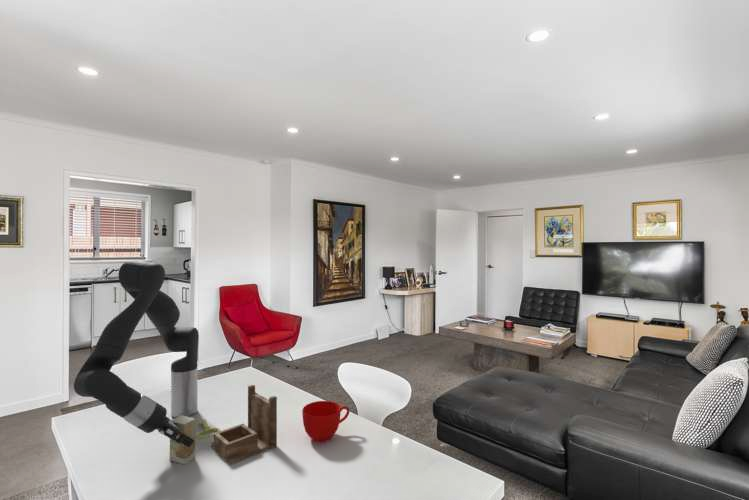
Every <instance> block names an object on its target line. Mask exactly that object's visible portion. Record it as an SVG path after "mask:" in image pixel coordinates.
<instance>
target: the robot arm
mask: <svg viewBox="0 0 749 500" xmlns="http://www.w3.org/2000/svg"><path fill="white" fill-rule="evenodd" d="M165 277H166V269H165V268H164V266H163V265H162V264H159V263H157V262H152V261H151V262H149V261H142V260H128V261H125V262H123V264H121V266H120V267H119V269H118V281H119V284H120V285H121V288H123V289H124V290H125V291H126V292H127V294H129V295H130V297H132V299H133V301H132V302H131V303H130V304H129V305H128V306H127V307H125V308H124V309H123V310H122V311H120V313H118V314H117V315H116V316H114V318H112V319H111V320H110V321H109V322H108V323H107V325H106V326H105V327H104V329H103V331H102V332H101V334H100V336H99V338H98V340H97V342H96V344H95V347H94V349H93V351H92V352H91V354H90V355H89V357H87V359H86V361H85V362H84V363H83V365H82V366H81V368H80V369H79V371H78V373H77V374H76V376H75V379H74V382H73V389H74V392H75V393H76V394H77V395H78V396H80V397H84V398H89V397H90V398H93V399H96V400H97V401H99V402H100V403H102V404H104V405H105V408H107V409H108V411H110V412H112V413H113V414H115V415H117V416H119V417H121V418H122V419H123V420H125V421H126V422H128V424H131V425H132V426H133V427H135V428H137V429H139V430H141V431H143V432H144V433H146V434H149V433H153V432H154V431H156V430H157V431H158V432H159V434H161V435H163V436H165V437H167V438H169V440H170V439H172V440H174V441H176V442H177V443H178V444H180V443H182V444H184V445H186V446H187V447H190V446H191V445H192V443H193V442H194V440H193V439H192V438H190V437H188V436H187V435H185V433H183V432H181V431H180V428H179V427H178V426H176V425H175V424H174V423H173V422H172V421H171V420H172V419H170V417H167V413H168V410H167V408H166V407H165V406H163V405H161V404H159V402H157V401H155V400H154V399H152V398H150V397H149V396H146V395H145V394H142V393H141V392H140V391H137V390H136V389H134V388H133V387H131V386H129V385H127V383H126V382H125V381H124V380H122V379H121V378H120V376H118V375H116V374H115V372H112V371H111V369H112V368H113V366H114V365H115V363H117V362H119V361H120V359H121V358H122V357H123V355H124V353H125V351H126V349H127V348H128V347H127V346H128V344H129V343H130V339H131V338H132V336H133V333H134V332H135V329H136V328H137V326H138V325H139V323H140V321H141V320H142V318H143V317H144V315H145V314H146V315H145V316H146V317H148V319H149V321H150V322H151V323H152V324H153V325H154V327H155V328H156V329H157V331H158V332H159V334H160V336H161V339H162V340H163V343H164V345H165V347H166V348H167V350H168V351H170V352H173V353H185V352H186V354H185V356H184V357H181V358H178V359H176V360H174V361H173V362H171V365H170V384H171V385H170V394H171V395H170V401H171V402H170V404H171V405H170V407H171V408H170V414H171V417H173V418H177V417H179V416H181V415H183V416H186V417H190V416H192V415H194V414H196V413H197V412H198V359H199V342H200V340H199V339H200V336H199V330H198V328H196V327H192V326H191V327H176V324H177V323H178V322H179V319H180V316H181V313H180V309H179V307H178V305H177V303H176V302H175V301H174V300H173V298H172V297H171V296H170V295H168V294H167V293H165V292H164V291H161V288H162V286H163V284H164V282H165ZM175 428H176V429H175ZM178 434H180V436H179V437H178V439H177V438H176V437H177V436H178Z"/></svg>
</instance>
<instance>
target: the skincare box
mask: <svg viewBox="0 0 749 500" xmlns="http://www.w3.org/2000/svg"><path fill="white" fill-rule="evenodd" d="M170 420H171V421H172V422H173V423H174V424H175V425H176V426H178V427H179V428H180V431H181V432H183V433H185V435H187V436H188V437H190V438H192V439H193V440H194V442H193V443H192V445H191V446H190V447H187V446H186V445H184V444H182V443H180V444H178V443H177V442H176V441H174V440H172V439H170V438H169V461H171V462H175V463H178V464H181V465H186V464H187V463H188V462H191V461H192V460H193V459H195V458H196V428H197V427H196V422H197V421H196V418H193V417H190V416H187V417H186V416H183V415H181V416H179V417H174V418H173V419H170ZM175 429H176V428H175ZM179 436H180V434H178V436H177V437H176V438H177V439H178V437H179Z"/></svg>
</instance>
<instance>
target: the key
mask: <svg viewBox="0 0 749 500" xmlns="http://www.w3.org/2000/svg"><path fill="white" fill-rule="evenodd" d="M197 424H198V425H201V424H203V427H204V429H203V430H200V431H198V432H197V435H196V438H197V439H200V440H201V439H202V440H203V439H208V438H212V437H213V438H214V433H212V434H209V435H203V434H206V433H211V432H215V433H217V432H220V431H221V429H220V428H218V427H210V426H209V424H208V421H207V420H206V419H205V418H204V419H202V420H199V421H197Z"/></svg>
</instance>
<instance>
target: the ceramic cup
mask: <svg viewBox="0 0 749 500" xmlns="http://www.w3.org/2000/svg"><path fill="white" fill-rule="evenodd" d="M344 409H346V413H345V415H344V416H343V417H342V418H341V413H342V411H343V410H344ZM301 413H302V422H303V423H302V424H303V427H304V430H305V433H306V434H307V436H308V437H309V439H311V440H312V442H315V443H326V442H328V441H330V440H332V437H333V436H335V434H336V433H337V431H338V428H339V425H340V424H341V423H343V422H344V421H345V420H346V419H347V418H348V417H349V414H350V407H348V406H346V405H342V406H341V405H340V404H339V403H337V402H335V401H331V400H320V401H319V400H318V401H313V402H310V403H307V404H306V405H304V406H303V408H302V412H301Z"/></svg>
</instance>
